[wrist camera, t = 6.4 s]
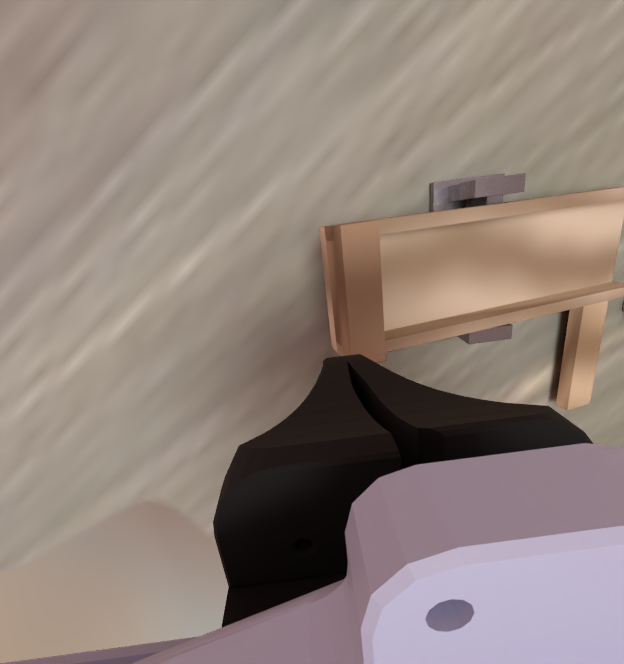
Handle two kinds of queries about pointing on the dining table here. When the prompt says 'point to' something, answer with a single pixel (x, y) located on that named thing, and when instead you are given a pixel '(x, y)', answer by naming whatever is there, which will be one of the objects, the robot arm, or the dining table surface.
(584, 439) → the robot arm
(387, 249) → the lever
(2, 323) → the dining table surface
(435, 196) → the fulcrum
